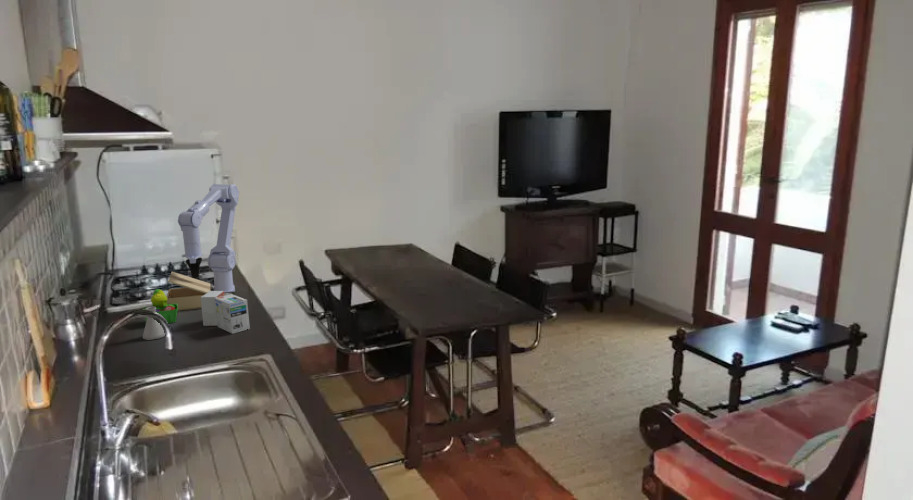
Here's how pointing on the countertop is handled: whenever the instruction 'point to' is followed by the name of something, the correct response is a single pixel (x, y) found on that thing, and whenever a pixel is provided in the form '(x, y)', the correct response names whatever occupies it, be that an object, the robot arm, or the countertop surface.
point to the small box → (210, 307)
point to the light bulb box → (232, 313)
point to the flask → (152, 328)
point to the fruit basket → (164, 306)
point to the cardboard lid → (189, 282)
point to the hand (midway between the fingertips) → (195, 277)
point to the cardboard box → (185, 298)
